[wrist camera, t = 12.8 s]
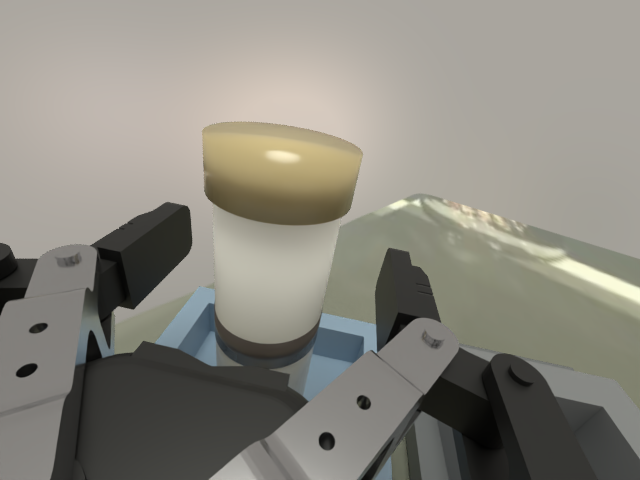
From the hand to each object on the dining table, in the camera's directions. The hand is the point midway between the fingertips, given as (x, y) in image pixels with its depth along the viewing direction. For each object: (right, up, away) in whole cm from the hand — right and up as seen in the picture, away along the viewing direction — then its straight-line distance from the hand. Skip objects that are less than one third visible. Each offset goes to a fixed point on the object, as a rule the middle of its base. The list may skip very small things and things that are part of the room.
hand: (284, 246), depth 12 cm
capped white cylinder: (-2, -9, +3) cm, 10 cm away
